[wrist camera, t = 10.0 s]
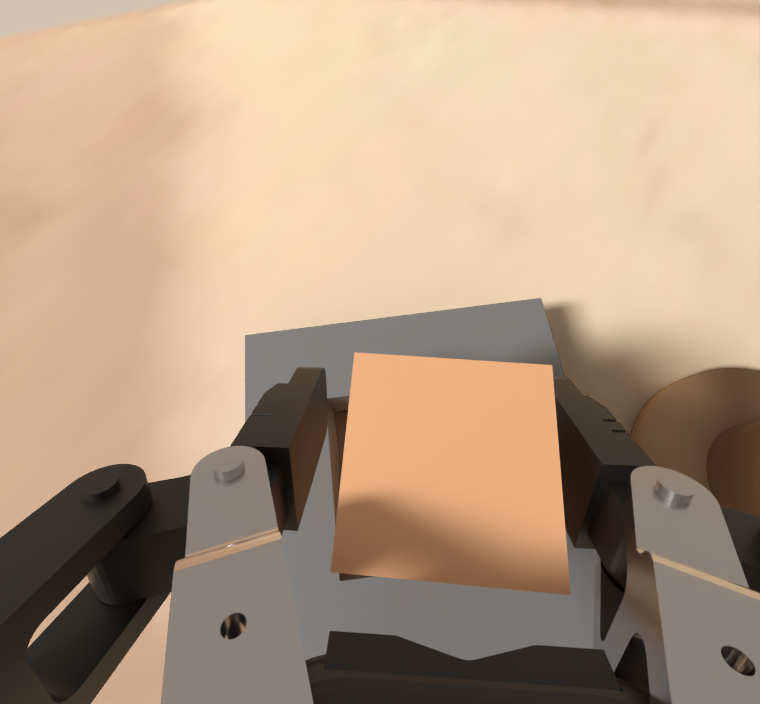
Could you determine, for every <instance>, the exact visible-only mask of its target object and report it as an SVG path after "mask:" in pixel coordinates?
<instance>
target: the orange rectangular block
mask: <svg viewBox="0 0 760 704" xmlns="http://www.w3.org/2000/svg"><path fill="white" fill-rule="evenodd" d="M331 572H333V573H344V574H354V575H365V576H375V577H386V578H396V579H407V580H417V581H428V582H438V583H449V584H459V585H470V586H480V587H490V588H501V589H511V590H522V591H532V592H543V593H553V594H564V595H571V592H570V579H569V567H568V555H567V542H566V530H565V517H564V505H563V493H562V480H561V468H560V455H559V443H558V431H557V418H556V406H555V393H554V381H553V369H552V365H543V364H527V363H512V362H496V361H481V360H465V359H450V358H434V357H419V356H404V355H388V354H373V353H357V352H354V360H353V370H352V379H351V388H350V397H349V407H348V416H347V425H346V434H345V444H344V453H343V462H342V471H341V480H340V490H339V499H338V508H337V517H336V527H335V536H334V545H333V554H332V564H331Z"/></svg>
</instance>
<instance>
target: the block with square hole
mask: <svg viewBox="0 0 760 704" xmlns="http://www.w3.org/2000/svg"><path fill="white" fill-rule="evenodd" d="M354 352H357V353H373V354H388V355H404V356H419V357H434V358H450V359H465V360H481V361H496V362H512V363H527V364H543V365H552V369H553V377H563V378H565V375H564V372H563V368H562V365H561V362H560V359H559V355H558V352H557V349H556V346H555V342H554V339H553V336H552V333H551V329H550V326H549V323H548V320H547V316H546V313H545V310H544V307H543V303H542V300H541V298H538V299H530V300H522V301H514V302H506V303H498V304H490V305H482V306H474V307H466V308H458V309H450V310H442V311H434V312H426V313H418V314H411V315H403V316H395V317H387V318H379V319H371V320H363V321H355V322H347V323H339V324H331V325H323V326H315V327H307V328H299V329H291V330H283V331H275V332H267V333H259V334H251V335H245V422H246V421H247V419H248V418H249V416H250V415H251V414H252V411H253V410H254V408H255V407H256V406H257V405H258V402H259V400H260V399H261V397H262V396H263V394H264V393H265V392H266V391H267V390H269V389H270V388H272V387H273V386H275V385H276V384H277V383H289V381H290V380H291V378H292V376H293V374H294V372H295V370H296V369H297V367H319V368H325V372H326V385H327V405H328V426H327V433H326V438H325V441H324V444H323V448H322V451H321V454H320V458H319V461H318V465H317V468H316V471H315V475H314V478H313V482H312V485H311V488H310V492H309V495H308V498H307V502H306V505H305V509H304V512H303V515H302V519H301V522H300V526H299V529H298V531H290V530H283V533H282V536H281V538H282V543H283V548H284V554H285V559H286V564H287V569H288V574H289V579H290V585H291V590H292V595H293V600H294V605H295V610H296V616H297V621H298V626H299V631H300V636H301V641H302V647H303V652H304V657H305V660H308V659H310V658H313V657H316V656H320V655H324V654H326V651H327V645H328V638H329V632H330V631H341V632H355V633H370V634H384V635H396V636H399V637H402V638H404V639H407V640H410V641H413V642H415V643H418V644H421V645H424V646H426V647H429V648H432V649H435V650H437V651H440V652H443V653H446V654H449V655H451V656H454V657H457V658H460V659H463V660H476V659H480V658H484V657H488V656H492V655H496V654H500V653H504V652H508V651H512V650H516V649H520V648H524V647H528V646H533V645H544V646H559V647H573V648H588V649H593V630H594V586H595V568H596V565H597V563H598V560H599V555H598V553H597V551H596V549H583V548H574V546H573V544H572V542H571V540H570V537H569V535H568V533H567V531H566V542H567V555H568V567H569V579H570V592H571V595H564V594H553V593H543V592H532V591H522V590H511V589H501V588H490V587H480V586H470V585H459V584H449V583H438V582H428V581H417V580H407V579H396V578H386V577H375V576H365V575H354V574H344V573H333V572H331V564H332V554H333V545H334V536H335V527H336V517H337V508H338V499H339V490H340V480H341V479H340V467H339V455H338V444H337V432H336V420H335V412H338V411H346V410H348V407H349V397H350V388H351V379H352V370H353V360H354ZM565 530H566V529H565Z"/></svg>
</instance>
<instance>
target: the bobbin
mask: <svg viewBox="0 0 760 704" xmlns="http://www.w3.org/2000/svg"><path fill="white" fill-rule="evenodd" d="M631 437H632V438H633V439H634V441H635V442H636V443H637V444H638V445H639V446H640V447H641V449H642V450H643V451H644V452H645V453H646V454H647V455H648V457H649V458H650V459H651V460H652V461H653V462H654V463H655V465H656V466H658V467H663V468H668V469H671V470H674V471H677V472H679V473H682V474H684V475H686V476H688V477H690V478H692V479H693V480H695V481H697V482H698V483H700V484H701V485H703V486H704V487H705V488H706V489H708V490H709V491H710V492H711V493H712V494H713V495H714V497H715V498H716V499H717V501H718V503H719V505H720V506H722V507H726V508H730V509H734V510H738V511H742V512H745V513H749V514H753V515H757V516H760V371H755V370H749V369H738V368H726V369H715V370H710V371H705V372H701V373H699V374H696V375H693V376H690V377H688V378H685V379H682V380H680V381H677V382H675V383H673V384H671V385H669V386H667V387H665V388H663V389H662V390H661V391H659V392H658V393H657V394H655V395H654V396H653V397H652V398H651V399H650V400H649V401H648V402H647V403H646V405H645V406H644V407H643V409H642V410H641V412H640V413H639V415H638V417H637V419H636V421H635V424H634V426H633V429H632V433H631Z"/></svg>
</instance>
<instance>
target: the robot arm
mask: <svg viewBox="0 0 760 704" xmlns="http://www.w3.org/2000/svg"><path fill="white" fill-rule="evenodd" d="M553 381H554V393H555V406H556V418H557V431H558V443H559V455H560V468H561V480H562V493H563V505H564V517H565V529H566V531H567V533H568V535H569V537H570V540H571V542H572V544H573V546H574V548H583V549H596V551H597V553H598V555H599V560H598V563H597V565H596V568H595V586H594V630H593V649H588V648H573V647H559V646H544V645H533V646H528V647H524V648H520V649H516V650H512V651H508V652H504V653H500V654H496V655H492V656H488V657H484V658H480V659H476V660H463V659H460V658H457V657H454V656H451V655H449V654H446V653H443V652H440V651H437V650H435V649H432V648H429V647H426V646H424V645H421V644H418V643H415V642H413V641H410V640H407V639H404V638H402V637H399V636H396V635H384V634H370V633H355V632H341V631H330V632H329V638H328V645H327V651H326V654H324V655H320V656H316V657H313V658H310V659H308V660H305V657H304V652H303V647H302V641H301V636H300V631H299V626H298V621H297V616H296V610H295V605H294V600H293V595H292V590H291V585H290V579H289V574H288V569H287V564H286V559H285V554H284V548H283V543H282V538H281V536H282V533H283V530H290V531H298V529H299V526H300V522H301V519H302V515H303V512H304V509H305V505H306V502H307V498H308V495H309V492H310V488H311V485H312V482H313V478H314V475H315V471H316V468H317V465H318V461H319V458H320V454H321V451H322V448H323V444H324V441H325V438H326V433H327V426H328V405H327V385H326V372H325V368H319V367H297V369H296V370H295V372H294V374H293V376H292V378H291V380H290V381H289V383H277V384H276V385H275V386H273V387H272V388H270V389H269V390H267V391H266V392H265V393H264V394H263V396H262V397H261V399H260V400H259V402H258V405H257V406H256V407H255V408H254V410H253V411H252V414H251V415H250V416H249V418H248V419H247V421H246V422H245V424H244V425H243V427H242V429H241V430H240V432H239V433H238V435H237V436H236V438H235V440H234V441H233V443H232V444H231V446H230V447H227V448H223V449H220V450H217V451H215V452H213V453H211V454H209V455H207V456H206V457H204V458H203V459H202V460H200V461H199V462H198V463H197V464H196V466H195V467H194V469H193V471H192V473H191V475H189V476H184V477H179V478H174V479H168V480H163V481H157V482H152V483H148V481H147V478H146V475H145V472H144V470H142V469H141V468H140V467H138V466H136V465H131V464H117V465H111V466H106V467H103V468H100V469H97V470H95V471H92V472H90V473H88V474H86V475H84V476H82V477H80V478H79V479H77V480H75V481H74V482H73V483H71V484H70V485H69V486H67V487H66V488H65V489H63V490H62V491H61V492H59V493H58V494H57V495H56V496H54V497H53V498H52V499H50V500H49V501H48V502H46V503H45V504H44V505H43V506H41V507H40V508H39V509H37V510H36V511H35V512H34V513H32V514H31V515H30V516H28V517H27V518H26V519H24V520H23V521H22V522H21V523H19V524H18V525H17V526H15V527H14V528H13V529H12V530H10V531H9V532H8V533H6V534H5V535H4V536H2V537H1V538H0V704H91V702H92V701H93V700H94V698H95V697H96V695H97V694H98V693H99V691H100V690H101V688H102V687H103V686H104V684H105V683H106V681H107V680H108V679H109V677H110V676H111V675H112V673H113V672H114V670H115V669H116V668H117V666H118V665H119V663H120V662H121V661H122V659H123V658H124V656H125V655H126V654H127V652H128V651H129V649H130V648H131V647H132V645H133V644H134V642H135V641H136V640H137V638H138V637H139V635H140V634H141V633H142V631H143V630H144V628H145V627H146V626H147V624H148V623H149V622H150V620H151V619H152V617H153V616H154V615H155V613H156V612H157V610H158V609H159V608H160V606H161V605H162V603H163V602H164V601H165V599H166V598H167V596H168V595H169V593H170V592H171V602H170V613H169V623H168V634H167V645H166V655H165V666H164V677H163V687H162V698H161V704H760V516H757V515H753V514H749V513H745V512H742V511H738V510H734V509H730V508H726V507H722V506H720V505H719V503H718V501H717V499H716V498H715V497H714V495H713V494H712V493H711V492H710V491H709V490H708V489H706V488H705V487H704V486H703V485H701V484H700V483H698V482H697V481H695V480H693V479H692V478H690V477H688V476H686V475H684V474H682V473H679V472H677V471H674V470H671V469H668V468H663V467H658V466H656V465H655V463H654V462H653V461H652V460H651V459H650V458H649V457H648V455H647V454H646V453H645V452H644V451H643V450H642V449H641V447H640V446H639V445H638V444H637V443H636V442H635V441H634V439H633V438H632V437H631V436H630V435H629V434H628V433H626V432H625V429H624V428H623V427H622V426H621V425H620V423H619V422H616V419H615V418H614V417H613V415H612V414H611V413H610V412H609V411H608V410H607V409H606V407H604V406H603V405H601V404H600V403H598V402H596V401H595V400H593V399H592V398H590V397H589V396H583V395H582V394H581V392H580V391H579V390H578V389H577V388H576V386H575V385H574V384H573V383H572V381H571V380H570V379H569V378H563V377H553ZM86 575H87V577H88V579H89V581H90V582H89V583H88V584H87V585H86V586H85V588H84V589H83V590H82V591H81V592H80V593H79V594H78V595H77V596H76V597H75V598H74V599H73V600H72V601H71V603H70V604H69V605H68V606H67V607H66V608H65V609H64V610H63V611H62V612H61V613H60V614H59V615H58V616H57V617H56V619H55V620H54V621H53V622H52V623H51V624H50V625H49V626H48V627H47V628H46V629H45V630H44V631H43V632H42V634H41V635H40V636H39V637H38V638H37V639H36V640H35V641H34V642H33V643H32V644H31V645H30V646H29V647H28V644H29V642H30V639H31V637H32V636H33V634H34V632H35V631H36V629H37V628H38V626H39V625H40V624H41V623H42V621H43V620H44V619H45V618H46V617H47V616H48V615H49V614H50V613H51V612H52V611H53V610H54V609H55V608H56V607H57V606H58V605H59V604H60V602H61V601H62V600H63V599H64V598H65V597H66V596H67V595H68V594H69V593H70V592H71V591H72V590H73V589H74V588H75V587H76V586H77V585H78V584H79V583H80V582H81V581H82V579H83V578H84V577H85V576H86ZM27 647H28V649H27Z"/></svg>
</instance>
